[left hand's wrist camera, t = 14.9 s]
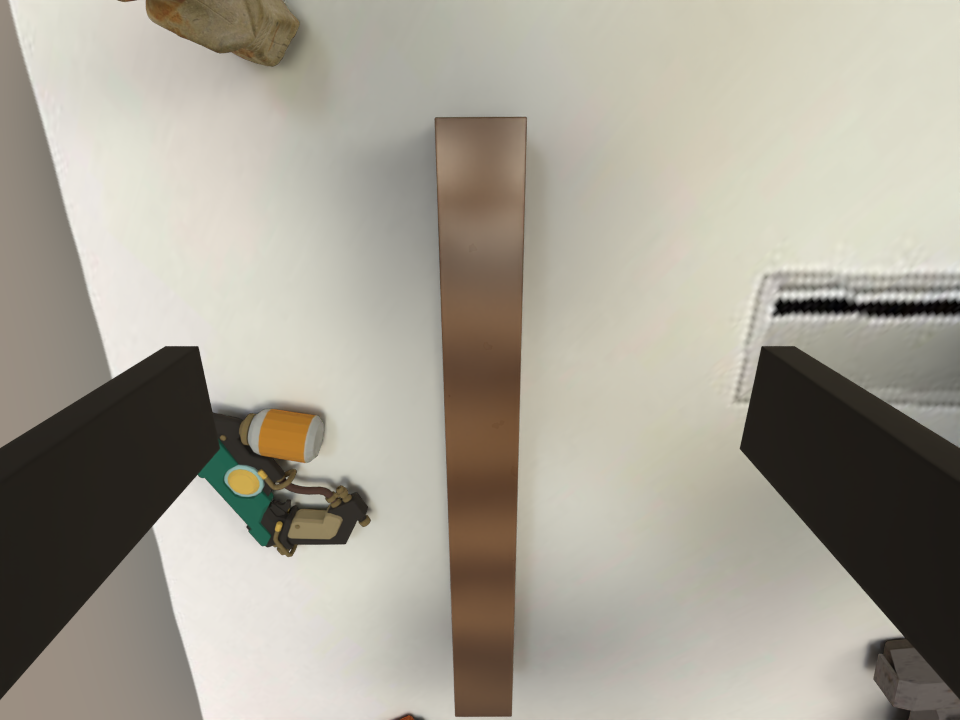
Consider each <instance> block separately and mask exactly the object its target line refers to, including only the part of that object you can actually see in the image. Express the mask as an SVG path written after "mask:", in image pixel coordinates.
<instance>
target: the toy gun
mask: <svg viewBox="0 0 960 720" xmlns="http://www.w3.org/2000/svg"><path fill="white" fill-rule="evenodd" d="M400 720H414V719H413V718H412V716H410V715H408V716H406V717H404V718H402V719H400Z"/></svg>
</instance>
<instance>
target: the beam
mask: <svg viewBox="0 0 960 720" xmlns="http://www.w3.org/2000/svg"><path fill="white" fill-rule="evenodd" d="M526 134H527V117H436V118H435V143H436V173H437V202H438V231H439V260H440V289H441V318H442V348H443V377H444V406H445V435H446V464H447V493H448V523H449V552H450V581H451V610H452V639H453V668H454V697H455V717H511V716H512V690H513V650H514V610H515V571H516V531H517V491H518V452H519V412H520V372H521V333H522V293H523V253H524V213H525V174H526Z"/></svg>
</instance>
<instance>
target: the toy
mask: <svg viewBox="0 0 960 720" xmlns="http://www.w3.org/2000/svg"><path fill="white" fill-rule="evenodd" d="M874 681H875V682H876V683H877V685H878V686H879V688H880V689H881V690H882V692H883V693H884V694H885V696H886V697H887V699H888V700H889V701H890V703H891V704H892V705H893V707H897V708H902V709H906V710H911V712H910V716H909V720H960V699H959V698H958V697H957V696H956V695H955V694H954V693H953V691H952V690H951V689H950V688H949V687H948V686H947V685H946V683H945V682H944V681H943V680H942V679H941V678H940V677H939V675H938V674H937V673H936V672H935V671H934V670H933V669H932V667H931V666H930V665H929V664H928V663H927V662H926V661H925V659H924V658H923V657H922V656H921V655H920V654H919V653H918V651H917V650H916V649H915V648H914V647H913V646H912V645H911V644H910V642H909V641H908V640H907V639H901V640H891V641H887V642H886V643H885V648H884V653H883V654H882V653H880V654H878V659H877V664H876V669H875V674H874Z"/></svg>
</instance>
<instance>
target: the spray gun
mask: <svg viewBox="0 0 960 720" xmlns="http://www.w3.org/2000/svg"><path fill="white" fill-rule="evenodd" d="M213 417H214V422H215V427H216V432H217V436H218V441H219V446H220V450H219V451H218V452H217V453H216V454H215V455H214V456H213V458H212V459H211V460H210V461H209V462H208V463H207V464H206V466H205V467H204V468H203V469H202V470H201V471H200V472H199V474H198V476H199V477H201V478H205V479H206V480H207V481H208V482H209V483H210V484H211V485H212V486H213V488H214V489H215V490H216V491H217V492H218V493H219V494H220V495H221V496H222V497H223V498H224V500H225V501H226V502H227V503H228V504H229V505H230V506H231V507H232V508H233V509H234V511H235V512H236V513H237V514H238V515H239V516H240V517H241V518H242V519H243V520H244V521H245V523H246V524H247V527H246V528H247V529H248V530H249V531H248V532H249V533H250V534H251V535H252V536H253V537H254V538H255V539H256V541H257V542H258V543H259V544H260V545H261V546H266V547H271V546H274V547H277V551H278V552H279V553H280V554H281V555H286V556H287V557H291V556H293V554H294V552H295V550H296V548H297V545H328V544H346V543H347V541H348V539H349V536H350V534H351V532H352V530H353V528H354V526H355V524H356V522H357V520H358V521H359V524H360V525H361V526H362V527H365V526H367V525H368V524H369V523H370V521H371V520H370V518H369V516H368V515H366V512H367V509H368V506H367V505H366V504H365V502H364V501H363V500H362V498H361V497H360V496H359V494H358V493H357V492H355V493H353V494H348V490H347V489H346V488H345V487H343V486H342V485H340V486H338V487H337V489H336V493H335V492H332V491H330V490H329V489H327V488H324V487H302V486H298V485H294V484H292V483H291V482H292V481H293V479H294V478H295V475H296V473H297V471H296V470H295V469H291V470H288V471H286V472H284V471H283V470H282V468H281V467H280V466H279V465H278V464H277V462H276V461H275V460H274V459H273V458H279V459H285V460H291V461H297V462H303V463H308V462H310V461H312V460H313V459H314V458H315V457H316V456H318V453H319V451H320V448H321V444H322V440H323V433H324V424H323V422H322V420H321V419H320V417H319V416H317V415H310V414H303V413H297V412H290V411H283V410H276V409H265V410H262V411H261V412H259V413H258V414H254V413H250V414H249V415H248V416H247V417H246V418H245V420H244V421H243V420H242V419H239V418H236V417H231V416H226V415H222V414H217V413H213ZM288 476H289V477H288ZM286 477H288V479H286ZM275 482H278V483H279V484H278V485H276V484H275ZM283 488H285V489H287V490H289V491H292V492H295V493H299V494H308V495H311V494H320V495H324V496H325V497H326V498H325V499H326V500H327V502H328V503H331V504H330V505H329V506H328V509H327V510H312V509H300V510H298V507H297V506H293V507H292V509H291V511H290V505H291V501H290V500H287V501H286V502H284V503H282V502H278V501H276V500H274V501H273V503H272V502H271V501H272V499H273V497H274V495H273V494H272V492H271V491H272V489H274V490H280V489H283ZM338 497H340V498H341V499H340V498H338ZM289 511H290V513H289ZM290 549H291V551H290ZM289 551H290V553H289Z"/></svg>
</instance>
